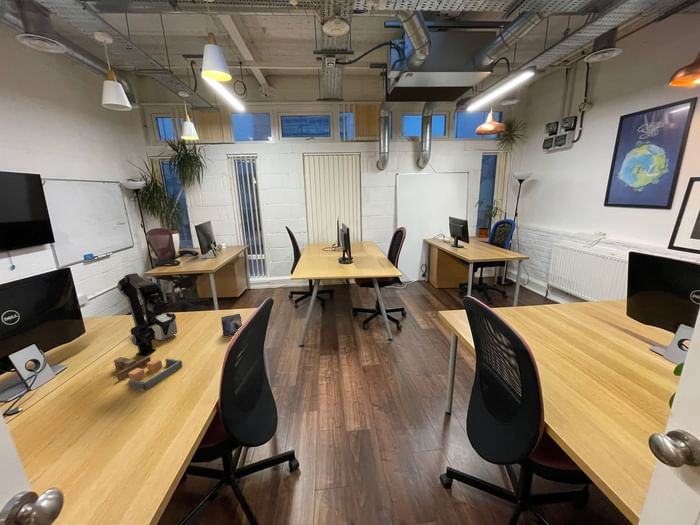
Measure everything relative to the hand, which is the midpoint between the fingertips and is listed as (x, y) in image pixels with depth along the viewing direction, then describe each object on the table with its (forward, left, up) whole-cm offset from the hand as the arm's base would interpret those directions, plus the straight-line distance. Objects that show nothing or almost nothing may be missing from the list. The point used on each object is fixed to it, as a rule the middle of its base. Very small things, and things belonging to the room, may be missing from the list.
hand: (157, 340), depth 135 cm
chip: (0, -12, -13) cm, 18 cm away
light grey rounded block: (-32, +24, -13) cm, 42 cm away
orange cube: (+1, -4, -13) cm, 13 cm away
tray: (+7, -8, -13) cm, 17 cm away
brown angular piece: (-12, -8, -13) cm, 19 cm away
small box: (+12, +36, -13) cm, 40 cm away
